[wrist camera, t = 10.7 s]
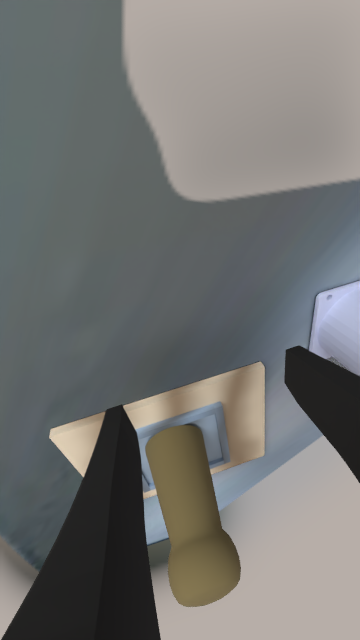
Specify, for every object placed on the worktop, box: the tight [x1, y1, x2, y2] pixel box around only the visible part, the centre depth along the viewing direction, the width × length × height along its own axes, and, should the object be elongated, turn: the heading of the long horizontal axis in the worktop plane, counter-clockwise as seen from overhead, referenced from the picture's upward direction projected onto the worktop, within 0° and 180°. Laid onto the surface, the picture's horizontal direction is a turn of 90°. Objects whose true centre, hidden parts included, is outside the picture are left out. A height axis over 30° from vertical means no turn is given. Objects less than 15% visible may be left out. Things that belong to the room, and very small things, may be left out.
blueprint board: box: [49, 361, 265, 499], centre depth 27 cm, size 20×16×1 cm
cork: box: [145, 425, 241, 607], centre depth 21 cm, size 6×6×11 cm
